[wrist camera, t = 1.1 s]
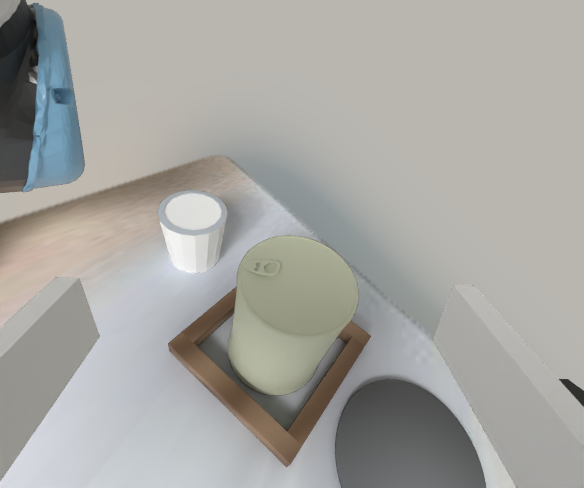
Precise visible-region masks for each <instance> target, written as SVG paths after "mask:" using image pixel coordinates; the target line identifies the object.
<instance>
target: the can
mask: <svg viewBox="0 0 584 488" xmlns="http://www.w3.org/2000/svg"><path fill="white" fill-rule="evenodd" d="M358 300H359V291H358V285H357V281H356V279H355V276H354V274H353V272H352V270H351V268H350V267H349V266H348V264H347V263H346V262H345V261H344V259H343V258H342V257H341V256H340V255H339V254H337V253H336V252H335V251H334V250H332V249H331V248H329V247H328V246H326V245H324V244H322V243H320V242H318V241H315V240H312V239H309V238H305V237H300V236H289V235H288V236H277V237H273V238H269V239H266V240H264V241H262V242H260V243H258V244H256V245H255V246H254V247H252V248H251V249H250V250H249V251H248V252H247V253H246V255H245V256H244V257H243V259H242V261H241V263H240V265H239V268H238V272H237V292H236V301H235V310H234V318H233V325H232V331H231V333H230V337H229V342H228V355H229V360H230V363H231V366H232V368H233V370H234V371H235V373H236V375H237V376H238V377H239V378H240V380H241V381H242V382H243V383H245V384H246V385H247V386H248V387H250V388H251V389H253V390H255V391H257V392H260V393H263V394H267V395H285V394H289V393H292V392H295V391H297V390H298V389H300V388H302V387H303V386H304V385H305V384H307V383H308V382H309V380H310V379H311V378H312V377H313V375H314V373H315V372H316V369H317V367H318V364H319V363H320V361H321V360H322V358H323V357H324V355H325V354H326V352H327V351H328V349H329V348H330V347H331V345H332V344H333V342H334V341H335V339H336V338H337V337H338V335H339V334H340V332H341V331H342V330H343V328H344V327H345V326H346V325H347V324H348V323H349V322H350V321H351V319H352V318H353V316H354V314H355V312H356V309H357V306H358Z"/></svg>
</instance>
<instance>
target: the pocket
mask: <svg viewBox="0 0 584 488" xmlns="http://www.w3.org/2000/svg"><path fill="white" fill-rule="evenodd" d="M236 292H237V287H235V288H234V289H233V290H232V291H231V292H229V293H228V294H227V295H226V296H225V297H223V298H222V299H221V300H220V301H219V302H217V303H216V304H215V305H214V306H213V307H211V308H210V309H209V310H208V311H207V312H205V313H204V314H203V315H202V316H201V317H199V318H198V319H197V320H196V321H195V322H193V323H192V324H191V325H190V326H189V327H187V328H186V329H185V330H184V331H183V332H181V333H180V334H179V335H178V336H177V337H175V338H174V339H173V340H172V341H171V342H169V343H168V346H169V351H170V352H171V353H172V354H173V355H174V356H175V357H176V358H177V359H178V360H179V361H180V362H181V363H182V364H183V365H184V366H185V367H186V368H187V369H188V370H189V371H190V372H191V373H192V374H193V375H194V376H195V377H196V378H197V379H198V380H199V381H200V382H201V383H202V384H203V385H204V386H205V387H206V388H207V389H208V390H209V391H210V392H211V393H212V394H213V395H214V396H216V397H217V398H218V399H219V400H220V401H221V402H222V403H223V404H224V405H225V406H226V407H227V408H228V409H229V410H230V411H231V412H232V413H233V414H234V415H235V416H236V417H237V418H238V419H239V420H240V421H241V422H242V423H243V424H244V425H245V426H246V427H247V428H248V429H249V430H250V431H251V432H252V433H253V434H254V435H255V436H256V437H257V438H258V439H259V440H260V441H261V442H262V443H263V444H264V445H265V446H266V447H267V448H268V449H269V450H270V451H271V452H272V453H273V454H274V455H275V456H276V457H277V458H278V459H279V460H280V461H281V462H282V463H283V464H284V465H285V466H286V467H287V466H288V465H290V464H291V462H292V461H293V459H294V458H295V456H296V454H297V453H298V451H299V450H300V448H301V447H302V445H303V443H304V442H305V440H306V439H307V437H308V435H309V434H310V432H311V431H312V429H313V427H314V426H315V424H316V423H317V421H318V420H319V418H320V416H321V415H322V413H323V412H324V410H325V408H326V407H327V405H328V404H329V402H330V400H331V399H332V397H333V396H334V394H335V393H336V391H337V389H338V388H339V386H340V385H341V383H342V381H343V380H344V378H345V377H346V375H347V373H348V372H349V370H350V369H351V367H352V366H353V364H354V362H355V361H356V359H357V358H358V356H359V354H360V353H361V351H362V350H363V348H364V346H365V345H366V343H367V342H368V340H369V339H370V337H371V336H370V335H369V334H368V333H366V332H365V331H364V330H363V329H361V328H360V327H359V326H357V325H356V324H355V323H353V322H352V321H350V322H349V323H348V324H347V325H346V326H345V327H344V328H343V330H342V331H341V332H340V334H339V335H338V337H339V338H341V339H342V340H343V341H345V342H346V343H347V344H346V346H345V347H344V349H343V350H342V352H341V353H340V355H339V356H338V357H337V359H336V360H335V362H334V363H333V365H332V366H331V368H330V369H329V371H328V372H327V373H326V375H325V376H324V378H323V379H322V381H321V382H320V384H319V385H318V387H317V388H316V390H315V391H314V392H313V394H312V395H311V397H310V398H309V400H308V401H307V403H306V404H305V406H304V407H303V408H302V410H301V411H300V413H299V414H298V416H297V417H296V419H295V420H294V422H293V423H292V425H291V426H290V427H289V429H288V430H287V431H286V430H285V429H284V428H283V427H282V426H281V425H280V424H279V423H277V422H276V421H275V420H274V419H273V418H272V417H271V416H270V415H269V414H268V413H267V412H266V411H265V410H264V409H263V408H262V407H261V406H259V405H258V404H257V403H256V402H255V401H254V400H253V399H252V398H251V397H250V396H249V395H248V394H247V393H246V392H245V391H244V390H243V389H241V388H240V387H239V386H238V385H237V384H236V383H235V382H234V381H233V380H232V379H231V378H230V377H229V376H228V375H227V374H226V373H225V372H224V371H222V370H221V369H220V368H219V367H218V366H217V365H216V364H215V363H214V362H213V361H212V360H211V359H210V358H209V357H208V356H207V355H206V354H204V353H203V352H202V351H201V350H200V349H199V348H198V347H197V346H199V345H200V344H201V343H202V342H203V341H204V340H205V339H206V338H207V337H208V336H210V335H211V334H212V333H213V332H214V331H215V330H216V329H217V328H218V327H220V326H221V325H222V324H223V323H224V322H225V321H226V320H227V319H228V318H230V317H231V316H232V315H233V314H234V310H235V301H236Z"/></svg>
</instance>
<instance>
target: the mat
mask: <svg viewBox="0 0 584 488" xmlns="http://www.w3.org/2000/svg"><path fill="white" fill-rule="evenodd" d="M335 457H336V465H337V472H338V476H339V480H340V484H341V487H342V488H486V483H485V478H484V473H483V470H482V466H481V463H480V460H479V458H478V455H477V452H476V450H475V448H474V446H473V444H472V442H471V440H470V438H469V436H468V434H467V433H466V431H465V429H464V428H463V426H462V425H461V424H460V422H459V421H458V419H457V418H456V417H455V416H454V415H453V413H452V412H451V411H450V410H449V409H448V408H447V407H446V406H445V405H444V404H443V403H442V402H441V401H440V400H438V399H437V398H436V397H435V396H433V395H432V394H430V393H429V392H427V391H426V390H424V389H422V388H420V387H418V386H416V385H414V384H411V383H408V382H405V381H400V380H381V381H377V382H374V383H371V384H369V385H367V386H365V387H364V388H362V389H361V390H360V391H358V392H357V393H356V394H355V395H354V396H353V397H352V398H351V399H350V401H349V402H348V404H347V405H346V406H345V408H344V410H343V412H342V414H341V417H340V420H339V423H338V428H337V433H336V442H335Z"/></svg>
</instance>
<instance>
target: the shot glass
mask: <svg viewBox="0 0 584 488" xmlns="http://www.w3.org/2000/svg"><path fill="white" fill-rule="evenodd" d="M227 212H228V211H227V208H226V206H225V204H224V202H222V201H221V200H220V199H219V198H218V197H217V196H215V195H212V194H210V193H207V192H204V191H197V190H188V191H180V192H177V193H175V194H172V195H170V196H168V197H167V198H166V199H164V200H163V201H162V202H161V203H160V206H159V209H158V211H157V213H158V216H159V220H160V224H161V227H162V231H163V234H164V238H165V241H166V244H167V248H168V251H169V255H170V258H171V262H172V264H173V265H174V266H175V267H176V268H177V269H179V270H181V271H184V272H186V273H200V272H205V271H207V270H209V269H211V268H212V267H214V266H215V264H216V263H217V262H218V260H219V256H220V250H221V245H222V240H223V235H224V230H225V224H226V219H227Z"/></svg>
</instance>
